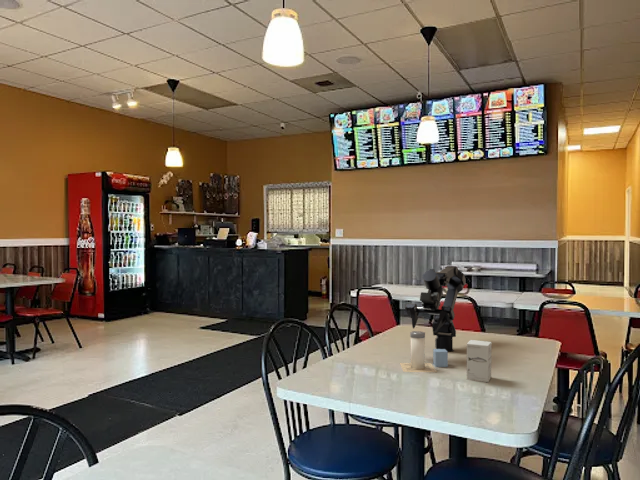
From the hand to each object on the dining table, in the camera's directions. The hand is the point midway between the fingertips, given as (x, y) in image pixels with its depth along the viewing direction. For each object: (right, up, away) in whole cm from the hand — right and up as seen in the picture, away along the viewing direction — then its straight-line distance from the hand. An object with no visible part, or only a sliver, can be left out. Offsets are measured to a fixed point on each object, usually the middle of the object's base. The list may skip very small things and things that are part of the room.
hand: (424, 329), depth 189 cm
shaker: (-4, -13, -6) cm, 15 cm away
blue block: (+5, -13, -4) cm, 15 cm away
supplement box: (+15, -14, -20) cm, 28 cm away
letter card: (-4, -13, -6) cm, 15 cm away
